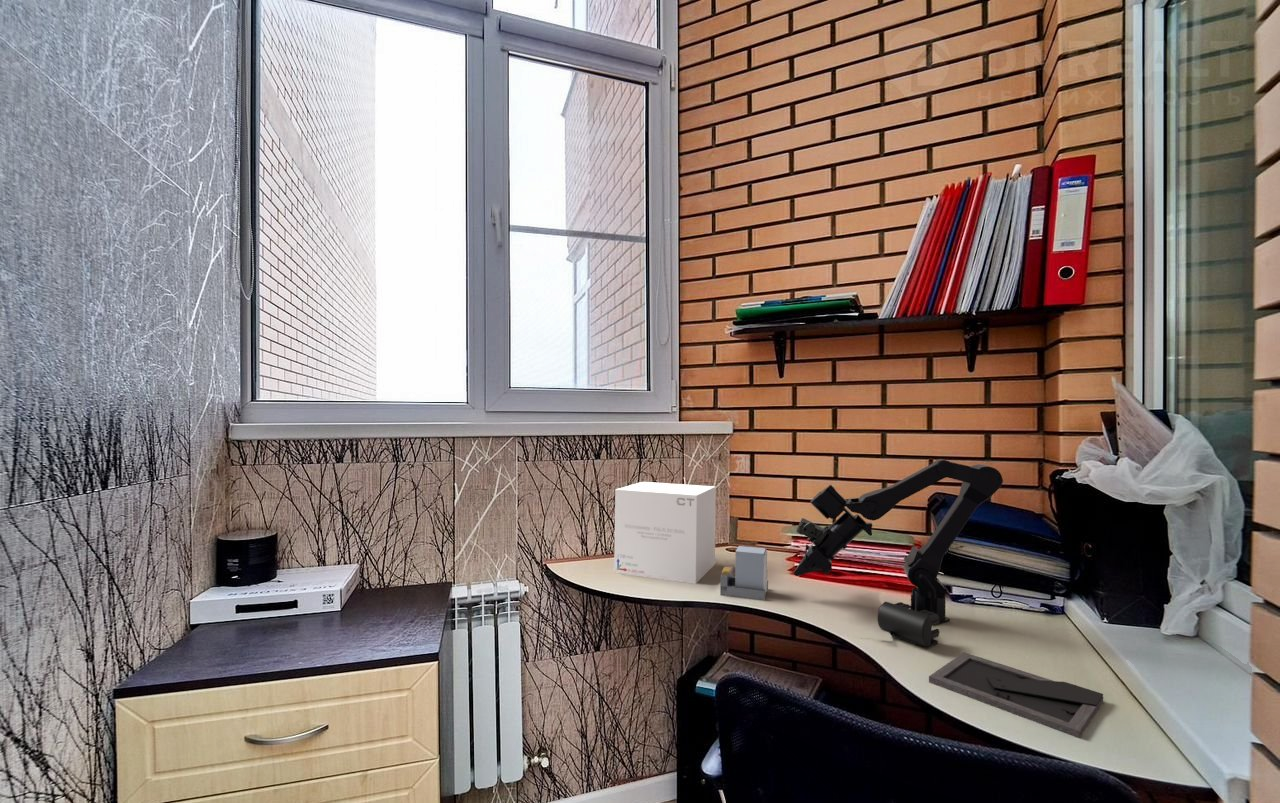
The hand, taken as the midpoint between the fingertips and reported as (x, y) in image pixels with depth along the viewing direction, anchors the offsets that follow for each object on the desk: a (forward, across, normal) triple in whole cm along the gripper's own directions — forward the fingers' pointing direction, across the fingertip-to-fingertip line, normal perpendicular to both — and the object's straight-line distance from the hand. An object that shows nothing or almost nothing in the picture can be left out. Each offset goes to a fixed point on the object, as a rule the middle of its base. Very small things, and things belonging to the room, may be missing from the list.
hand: (794, 574), depth 135 cm
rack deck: (+9, 0, +1) cm, 9 cm away
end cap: (-11, +15, +22) cm, 29 cm away
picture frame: (-20, +33, +32) cm, 50 cm away
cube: (+32, -18, -23) cm, 43 cm away
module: (+12, 0, -4) cm, 12 cm away
